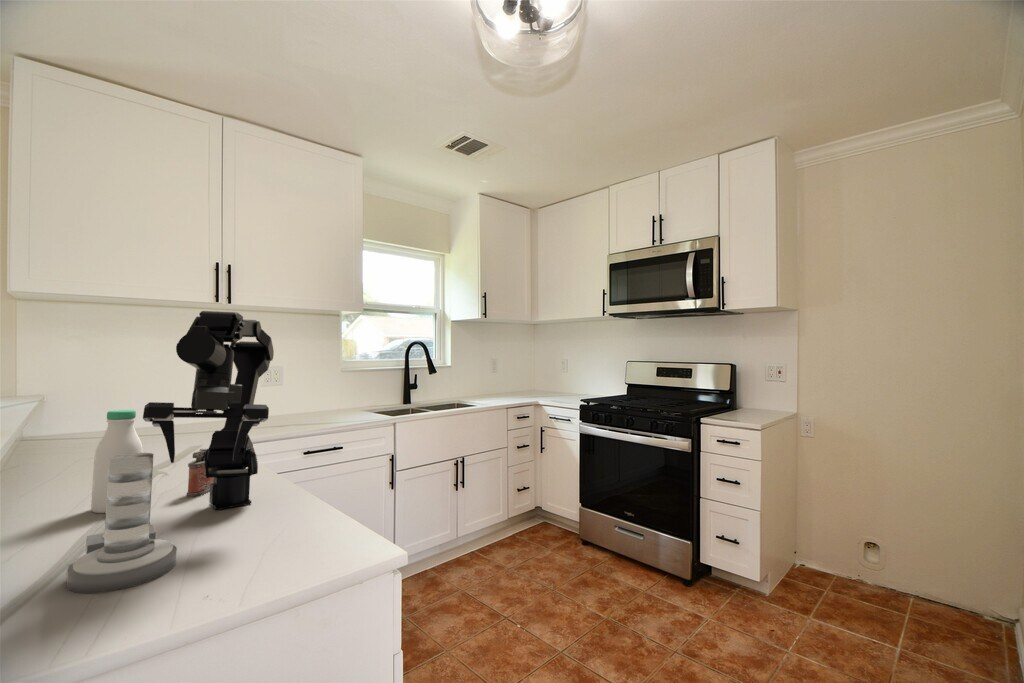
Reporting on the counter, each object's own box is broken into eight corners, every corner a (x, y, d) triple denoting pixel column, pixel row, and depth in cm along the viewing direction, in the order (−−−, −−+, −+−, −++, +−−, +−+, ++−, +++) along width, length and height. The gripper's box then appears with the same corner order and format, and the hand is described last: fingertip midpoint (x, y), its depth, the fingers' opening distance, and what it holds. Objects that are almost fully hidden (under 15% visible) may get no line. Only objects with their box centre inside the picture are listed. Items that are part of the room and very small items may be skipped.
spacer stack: (161, 542, 70) (166, 451, 71) (143, 560, 64) (148, 459, 65) (110, 547, 68) (115, 453, 69) (86, 565, 62) (92, 461, 63)
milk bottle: (148, 505, 96) (153, 409, 97) (103, 516, 89) (109, 413, 90) (128, 500, 99) (133, 408, 100) (82, 510, 92) (88, 411, 93)
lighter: (203, 488, 110) (205, 446, 110) (218, 487, 110) (220, 446, 111) (182, 497, 102) (184, 452, 102) (198, 497, 102) (200, 452, 103)
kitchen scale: (165, 540, 78) (166, 519, 78) (182, 573, 66) (183, 548, 66) (67, 560, 69) (69, 537, 70) (66, 603, 58) (67, 574, 58)
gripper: (147, 363, 74) (132, 462, 70) (275, 370, 84) (269, 457, 80) (152, 375, 83) (138, 464, 79) (267, 381, 93) (261, 459, 89)
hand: (204, 461), depth 82 cm, fingers open, 9 cm apart
